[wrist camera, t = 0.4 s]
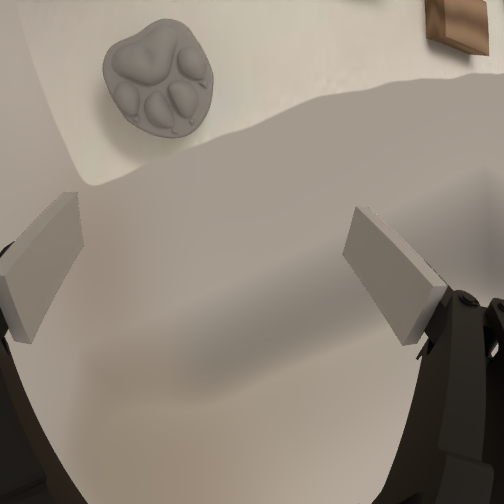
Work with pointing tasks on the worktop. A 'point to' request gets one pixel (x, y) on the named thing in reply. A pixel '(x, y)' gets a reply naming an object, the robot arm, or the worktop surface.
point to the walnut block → (459, 24)
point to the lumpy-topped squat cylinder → (160, 79)
